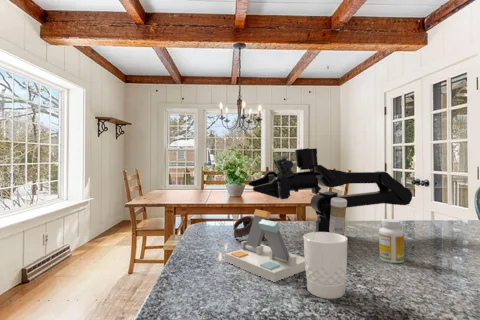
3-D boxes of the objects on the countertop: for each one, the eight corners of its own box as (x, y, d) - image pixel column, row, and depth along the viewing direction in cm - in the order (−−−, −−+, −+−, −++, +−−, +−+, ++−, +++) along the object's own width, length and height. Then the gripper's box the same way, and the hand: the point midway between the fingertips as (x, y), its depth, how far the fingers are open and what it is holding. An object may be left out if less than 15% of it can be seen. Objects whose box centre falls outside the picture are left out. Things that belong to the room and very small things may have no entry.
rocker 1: (247, 249, 72) (259, 210, 74) (259, 253, 68) (271, 213, 71) (243, 247, 71) (255, 209, 74) (255, 251, 67) (267, 211, 70)
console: (260, 251, 76) (260, 237, 76) (311, 268, 63) (310, 251, 63) (224, 261, 68) (224, 245, 68) (274, 283, 56) (274, 264, 56)
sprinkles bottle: (344, 240, 87) (347, 198, 85) (343, 246, 83) (346, 202, 81) (329, 237, 88) (331, 196, 87) (327, 243, 84) (330, 199, 82)
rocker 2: (277, 255, 64) (262, 219, 61) (292, 260, 61) (277, 222, 58) (274, 259, 63) (258, 223, 60) (289, 265, 60) (273, 226, 57)
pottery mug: (270, 243, 85) (259, 222, 83) (242, 257, 85) (230, 236, 83) (262, 225, 97) (252, 205, 94) (238, 237, 97) (227, 218, 95)
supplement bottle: (401, 257, 70) (401, 218, 70) (406, 265, 65) (405, 223, 65) (378, 255, 72) (377, 217, 72) (380, 262, 67) (380, 221, 67)
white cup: (314, 278, 58) (314, 230, 58) (354, 289, 53) (353, 235, 53) (296, 292, 52) (295, 237, 52) (339, 305, 47) (338, 245, 47)
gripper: (288, 154, 99) (244, 158, 97) (306, 158, 80) (253, 164, 79) (290, 185, 100) (247, 190, 98) (309, 196, 81) (256, 202, 80)
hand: (250, 186), depth 89 cm, fingers open, 9 cm apart
